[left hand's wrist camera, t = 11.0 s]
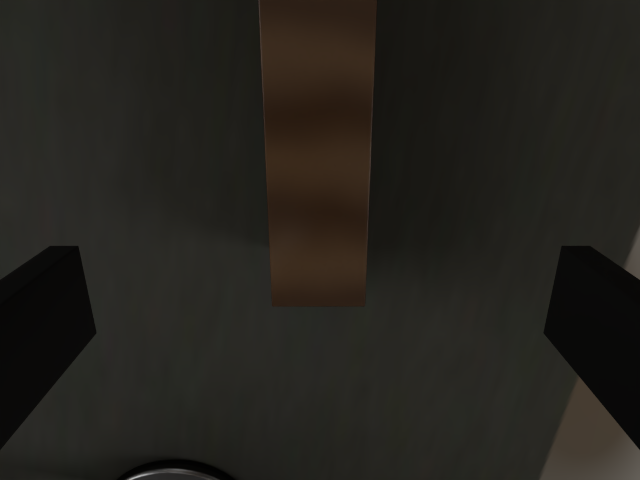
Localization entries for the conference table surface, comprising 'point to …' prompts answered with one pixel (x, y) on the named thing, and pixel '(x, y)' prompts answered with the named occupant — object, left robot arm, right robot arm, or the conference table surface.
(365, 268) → the beam
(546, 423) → the conference table surface
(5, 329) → the left robot arm
